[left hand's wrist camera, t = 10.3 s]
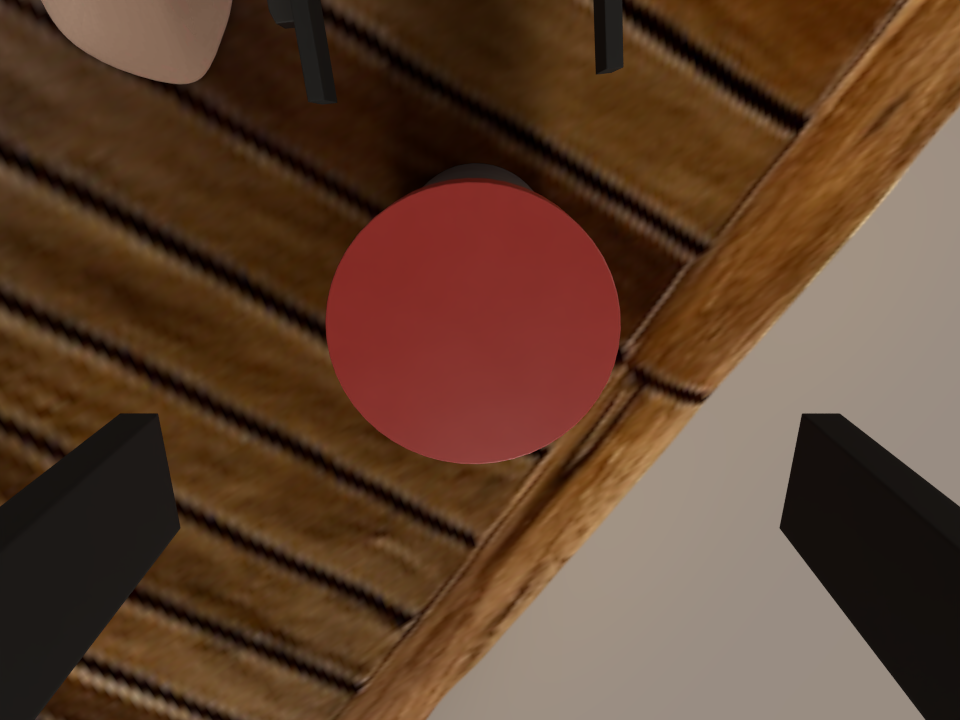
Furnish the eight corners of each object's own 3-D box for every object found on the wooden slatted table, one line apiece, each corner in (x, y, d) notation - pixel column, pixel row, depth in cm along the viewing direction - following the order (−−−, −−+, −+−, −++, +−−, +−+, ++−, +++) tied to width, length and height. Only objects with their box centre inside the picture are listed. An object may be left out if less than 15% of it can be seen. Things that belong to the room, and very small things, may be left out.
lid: (286, 251, 20) (269, 261, 19) (547, 126, 19) (554, 126, 17) (412, 476, 23) (407, 502, 22) (647, 381, 22) (660, 401, 20)
